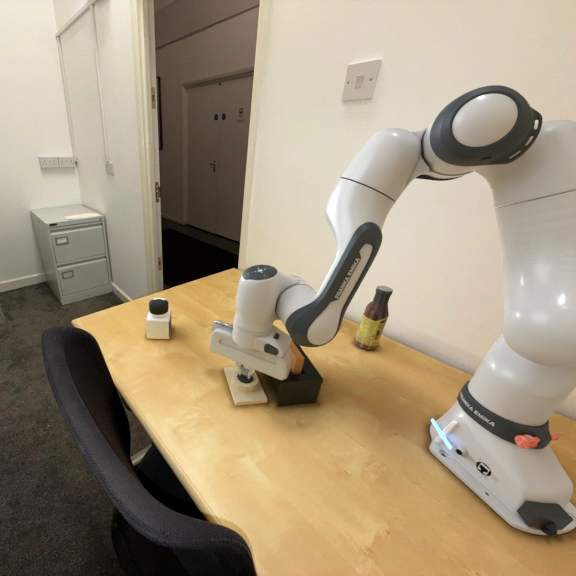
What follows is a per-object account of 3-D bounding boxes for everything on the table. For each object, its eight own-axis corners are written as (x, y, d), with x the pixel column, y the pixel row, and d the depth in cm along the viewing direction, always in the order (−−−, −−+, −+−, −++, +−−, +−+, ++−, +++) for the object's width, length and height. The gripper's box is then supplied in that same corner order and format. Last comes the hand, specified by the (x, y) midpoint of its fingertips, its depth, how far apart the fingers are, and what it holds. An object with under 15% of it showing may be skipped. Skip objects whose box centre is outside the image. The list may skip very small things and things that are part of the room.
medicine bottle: (169, 339, 94) (169, 307, 88) (147, 339, 94) (145, 306, 88) (171, 326, 100) (171, 295, 95) (150, 325, 100) (148, 294, 95)
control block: (267, 402, 73) (268, 394, 71) (235, 405, 72) (236, 397, 70) (251, 368, 83) (253, 360, 82) (224, 370, 82) (224, 362, 81)
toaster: (316, 403, 73) (323, 379, 69) (277, 407, 72) (282, 382, 68) (290, 361, 86) (295, 339, 82) (257, 364, 85) (260, 341, 81)
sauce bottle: (374, 353, 90) (396, 296, 81) (351, 345, 93) (370, 289, 84) (377, 343, 94) (399, 288, 85) (356, 335, 98) (374, 281, 89)
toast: (296, 389, 74) (304, 358, 69) (289, 390, 74) (296, 359, 69) (282, 364, 82) (288, 335, 77) (275, 365, 82) (281, 335, 77)
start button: (253, 386, 75) (254, 381, 75) (239, 387, 75) (240, 382, 74) (249, 376, 79) (250, 371, 78) (236, 377, 78) (236, 372, 77)
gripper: (206, 324, 72) (203, 367, 78) (290, 355, 63) (280, 401, 69) (218, 312, 77) (214, 354, 83) (298, 339, 67) (287, 384, 74)
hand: (245, 375), depth 76 cm, fingers closed, pressing on start button
